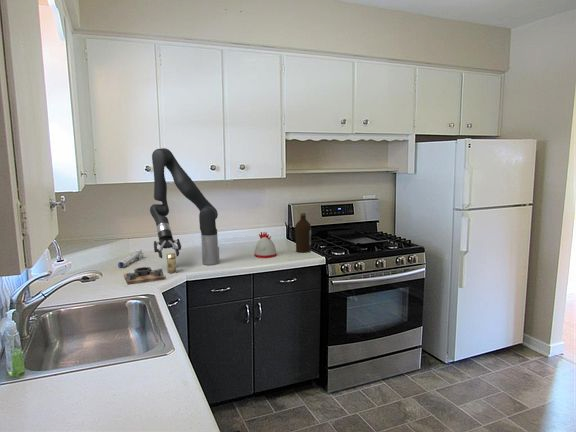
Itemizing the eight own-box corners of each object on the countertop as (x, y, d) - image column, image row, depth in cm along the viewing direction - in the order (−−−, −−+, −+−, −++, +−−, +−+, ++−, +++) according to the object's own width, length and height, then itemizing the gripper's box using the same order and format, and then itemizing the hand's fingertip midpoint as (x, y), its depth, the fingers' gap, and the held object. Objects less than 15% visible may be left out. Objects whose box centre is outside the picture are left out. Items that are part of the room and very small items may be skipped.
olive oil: (295, 253, 264) (295, 214, 261) (294, 249, 275) (294, 212, 271) (312, 252, 265) (312, 214, 261) (310, 249, 275) (310, 212, 272)
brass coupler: (175, 270, 227) (174, 252, 225) (177, 272, 223) (176, 254, 221) (166, 271, 224) (165, 253, 223) (168, 273, 220) (167, 255, 219)
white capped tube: (116, 261, 233) (136, 246, 257) (117, 272, 235) (137, 256, 259) (124, 261, 232) (144, 246, 256) (126, 272, 234) (145, 256, 258)
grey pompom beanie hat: (261, 252, 269) (260, 229, 267) (280, 254, 263) (279, 231, 261) (250, 257, 256) (249, 233, 254) (269, 259, 250) (269, 234, 248)
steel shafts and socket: (158, 269, 223) (158, 264, 223) (163, 275, 212) (163, 270, 211) (124, 274, 215) (123, 269, 215) (127, 280, 204) (127, 275, 203)
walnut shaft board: (159, 272, 224) (158, 269, 224) (165, 279, 210) (165, 276, 210) (123, 276, 216) (123, 274, 216) (127, 284, 202) (127, 281, 202)
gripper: (152, 229, 227) (156, 254, 219) (178, 227, 234) (183, 251, 226) (150, 237, 233) (155, 262, 224) (176, 235, 239) (181, 258, 231)
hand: (169, 256), depth 225 cm, fingers open, 8 cm apart
